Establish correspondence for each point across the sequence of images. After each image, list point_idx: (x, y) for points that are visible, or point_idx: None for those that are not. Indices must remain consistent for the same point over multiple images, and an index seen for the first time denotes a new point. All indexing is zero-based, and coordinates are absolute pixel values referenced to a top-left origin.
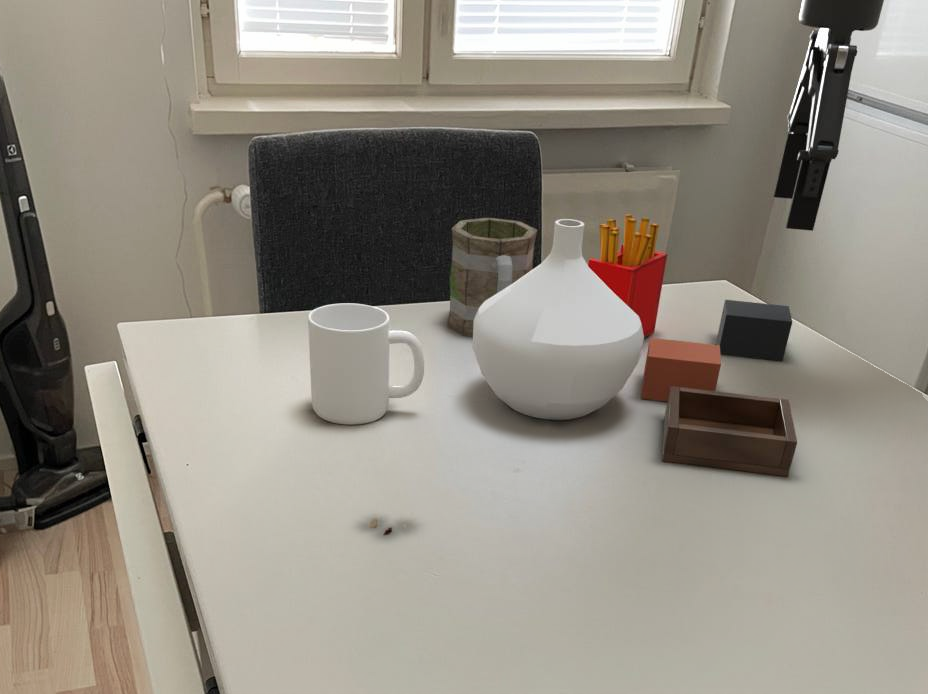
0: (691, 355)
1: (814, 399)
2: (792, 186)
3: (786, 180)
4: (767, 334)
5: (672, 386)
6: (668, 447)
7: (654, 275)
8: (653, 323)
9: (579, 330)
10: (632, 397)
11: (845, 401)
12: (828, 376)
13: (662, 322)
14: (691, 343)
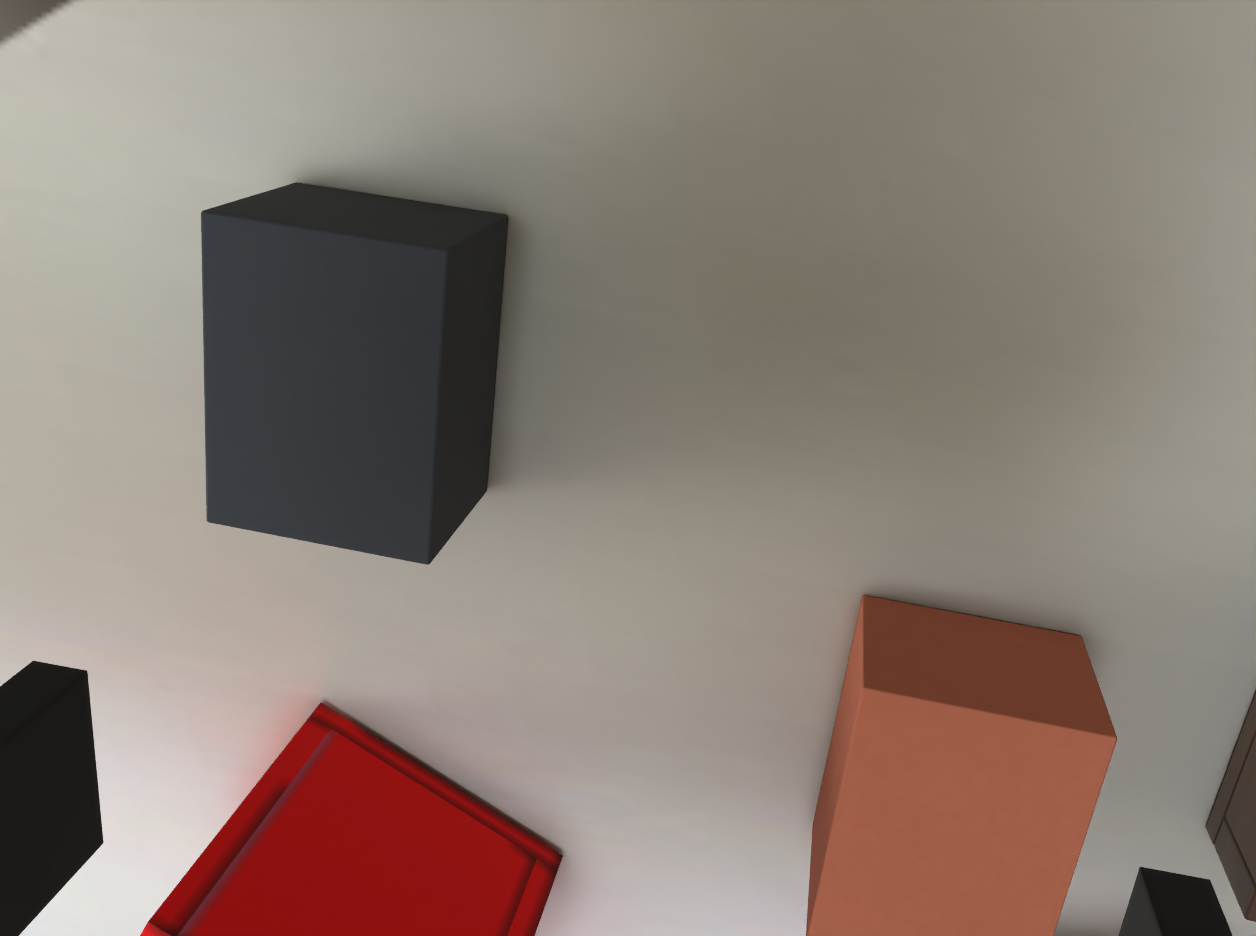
0: (1013, 833)
1: (963, 165)
2: (27, 791)
3: (6, 879)
4: (467, 339)
5: (1252, 914)
6: None
7: (284, 926)
8: (321, 737)
9: None
10: None
11: (976, 7)
12: (660, 19)
13: (180, 641)
14: (858, 801)
